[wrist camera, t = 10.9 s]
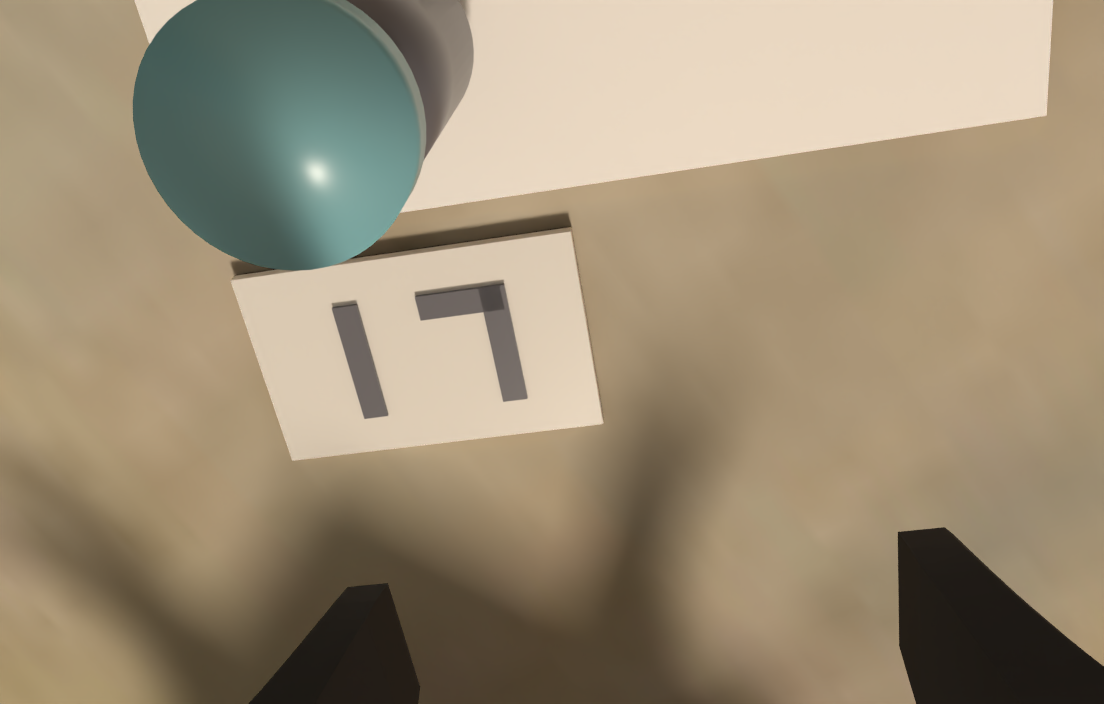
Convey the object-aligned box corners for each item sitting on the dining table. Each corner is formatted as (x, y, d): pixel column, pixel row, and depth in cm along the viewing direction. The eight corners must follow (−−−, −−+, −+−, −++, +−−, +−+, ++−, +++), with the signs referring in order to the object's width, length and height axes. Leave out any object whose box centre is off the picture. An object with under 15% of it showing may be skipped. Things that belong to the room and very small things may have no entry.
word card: (571, 227, 21) (570, 232, 21) (603, 417, 23) (603, 425, 23) (235, 275, 22) (229, 281, 22) (295, 454, 24) (290, 462, 24)
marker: (464, -73, 18) (380, -35, 12) (498, 122, 20) (441, 254, 13) (277, -43, 19) (90, 9, 12) (325, 145, 20) (185, 284, 14)
